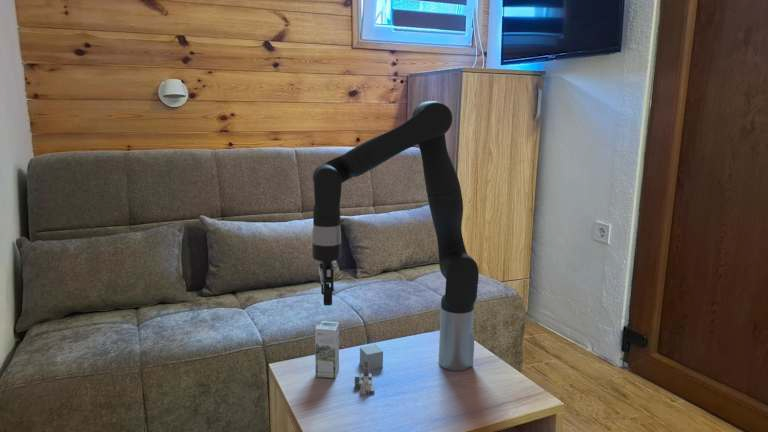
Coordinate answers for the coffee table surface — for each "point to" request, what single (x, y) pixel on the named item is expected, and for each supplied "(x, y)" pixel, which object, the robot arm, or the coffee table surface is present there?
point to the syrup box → (327, 349)
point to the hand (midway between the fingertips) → (326, 299)
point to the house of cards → (365, 381)
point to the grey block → (371, 356)
